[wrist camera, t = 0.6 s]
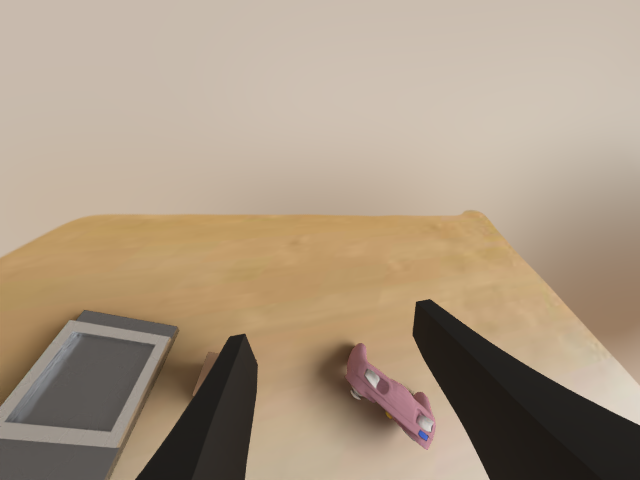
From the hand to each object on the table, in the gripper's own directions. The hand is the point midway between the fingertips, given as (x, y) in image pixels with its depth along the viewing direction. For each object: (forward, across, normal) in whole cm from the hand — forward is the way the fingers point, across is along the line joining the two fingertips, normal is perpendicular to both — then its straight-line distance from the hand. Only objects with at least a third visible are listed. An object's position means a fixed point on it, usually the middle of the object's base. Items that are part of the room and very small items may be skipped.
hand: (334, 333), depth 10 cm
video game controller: (+7, -4, +20) cm, 22 cm away
